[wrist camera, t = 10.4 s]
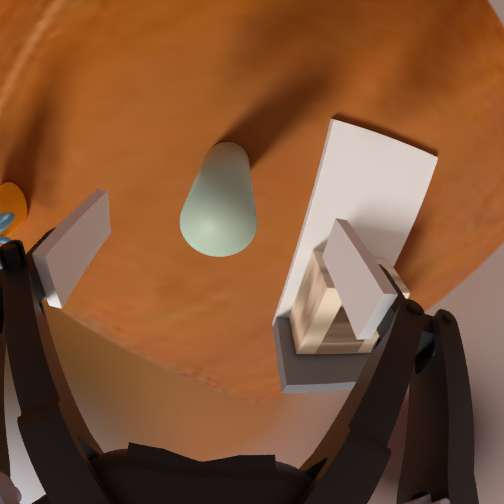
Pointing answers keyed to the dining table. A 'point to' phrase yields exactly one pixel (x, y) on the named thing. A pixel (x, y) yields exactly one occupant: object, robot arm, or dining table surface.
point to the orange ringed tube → (11, 210)
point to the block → (327, 313)
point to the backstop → (365, 225)
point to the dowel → (221, 203)
